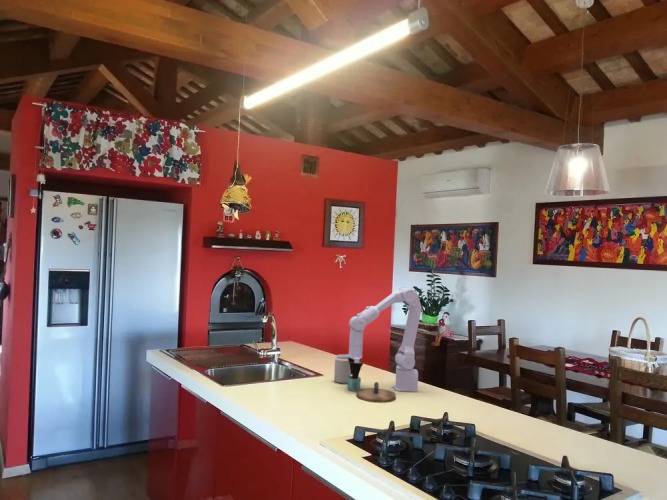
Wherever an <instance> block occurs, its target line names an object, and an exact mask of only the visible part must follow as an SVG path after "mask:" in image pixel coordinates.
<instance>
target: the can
mask: <svg viewBox="0 0 667 500" xmlns="http://www.w3.org/2000/svg"><path fill="white" fill-rule="evenodd" d="M348 358H350V357H346V354H337V355H336V357H335V359H334V374H333V375H334V377H333V380H334V381H335V383H337V384H343V385H346V384H347V385H348V377H349V376H352V375H351V372H350V364H349V361H348Z"/></svg>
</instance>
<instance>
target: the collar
mask: <svg viewBox="0 0 667 500" xmlns="http://www.w3.org/2000/svg"><path fill="white" fill-rule="evenodd" d="M361 381H362V378H361V376H358V379H353V378H352V375H351V376H349V377H348V383H347V390H348V391H351V392H357V390H359V389H361Z"/></svg>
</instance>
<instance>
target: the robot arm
mask: <svg viewBox="0 0 667 500" xmlns="http://www.w3.org/2000/svg"><path fill="white" fill-rule="evenodd" d="M399 303H401V304H404V305H405V307H406V308H407V310H408V313H407V317H406V318H407V319H406V323H405V326H404V327H405V328H404V331H403V332H404V333H403V337H402V342H401V345H400V346H399V347H398V351H397V352H396V354H395V356H394V362H395V363H396V367H395V382H394V384H395V385H394V384H393V385H392V387H393V388H394V390H395V391H396V392H419V391H418V388H419V387H418V386H419V371H418V369H415V368H414V367H415V365H416V360H415V355H416V354H415V348H414V347H415V343H416V339H417V334H418V333H417V332H418V328H419V323H420V319H421V314H422V304H421V301H420V295H419V294H418V293H417V291H416V290H415V289H414V288H410V287H406V286H402V287H400V288H398V289H397V290H394V291H393V292H392V293H390V294H388V296H386V297H385V298H384V299H383V300H381V301H380V302H378V303H377V304H376V305H374V306H373V305H370V306H368V305H367V306H366V307H365V309H363V311H361V312H360V313H356V316H355V315H354V316H352V317H351V318H350V319H349V322H348V326H349V327H350V331H349V340H348V341H349V344H348V354H347V353H346V354H345V355H346V357H350V358H348V361H349V364H350V372H351V376H352V378H353V379H358V377H360V376H359V375H360V371H361V369H362V367H363V365H364V362H361V359H362V358H363V344H364V330H365V328H366V326H368V325H369V324H370V323H372V322H373V321H374V320H376V319H377V318H379V317H380V313H381V312H383V311H384V310H386V309H387V308H389V307H390V306H392V305H394V304H399Z"/></svg>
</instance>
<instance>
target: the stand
mask: <svg viewBox="0 0 667 500" xmlns="http://www.w3.org/2000/svg"><path fill="white" fill-rule="evenodd" d="M379 385H380V384H379V382H378V381H375V382H374V383H373V387H368V388H367V387H366V388H360V389H359V390H357V391H355V392H356V393H355V394H356V395H355V397H356V398H358V399H359V400H362V401H365V402H370V403H389V402H394V401H395V400H396V398H397V397H396V396H397V394H396V392H394V391H392V390H388V389H384V388H379V387H380V386H379Z"/></svg>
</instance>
